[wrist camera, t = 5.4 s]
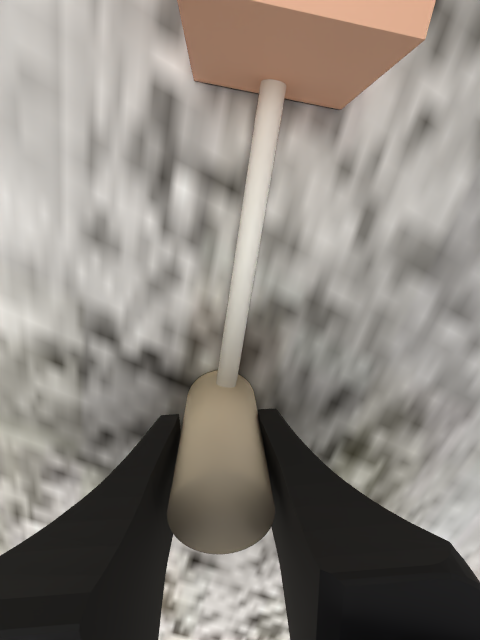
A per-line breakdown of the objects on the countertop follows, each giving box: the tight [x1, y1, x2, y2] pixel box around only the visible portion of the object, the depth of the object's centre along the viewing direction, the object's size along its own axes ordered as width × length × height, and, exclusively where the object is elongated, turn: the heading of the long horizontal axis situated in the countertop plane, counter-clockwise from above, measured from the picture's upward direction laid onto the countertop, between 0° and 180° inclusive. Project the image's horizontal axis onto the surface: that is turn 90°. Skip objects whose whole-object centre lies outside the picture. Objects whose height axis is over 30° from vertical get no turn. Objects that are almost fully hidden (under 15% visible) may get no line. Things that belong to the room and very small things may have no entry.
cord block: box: [167, 0, 436, 554], centre depth 9 cm, size 4×16×5 cm, turn 171°
